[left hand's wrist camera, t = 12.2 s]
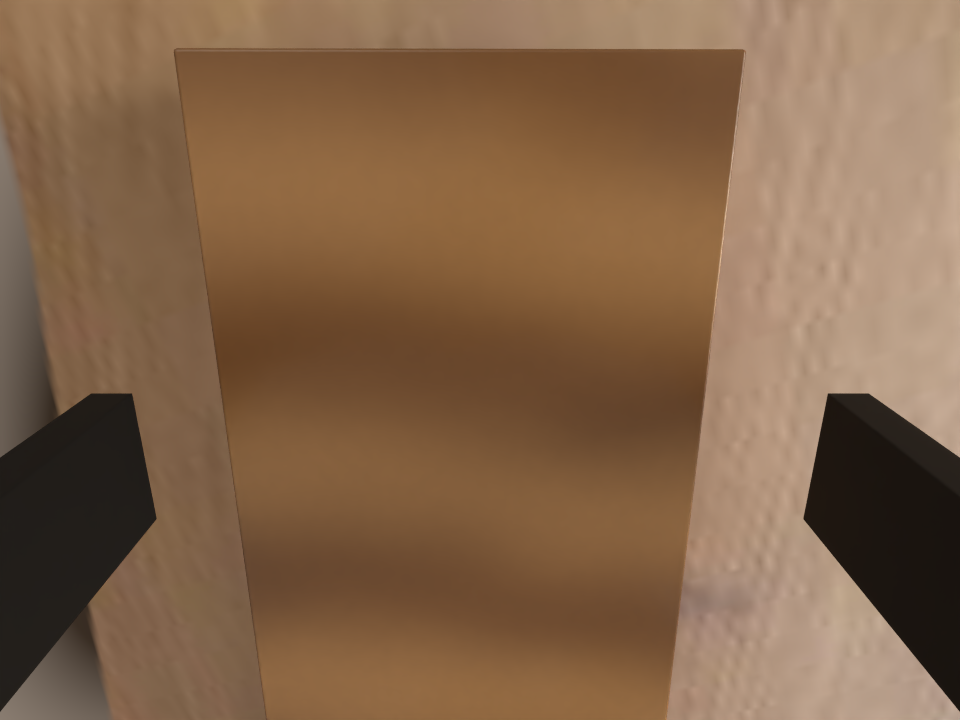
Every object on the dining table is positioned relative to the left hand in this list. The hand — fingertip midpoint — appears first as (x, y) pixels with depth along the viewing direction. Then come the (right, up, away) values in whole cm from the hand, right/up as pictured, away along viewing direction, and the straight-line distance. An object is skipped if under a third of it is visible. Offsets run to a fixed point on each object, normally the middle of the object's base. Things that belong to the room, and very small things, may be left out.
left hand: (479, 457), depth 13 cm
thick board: (0, -18, +14) cm, 22 cm away
